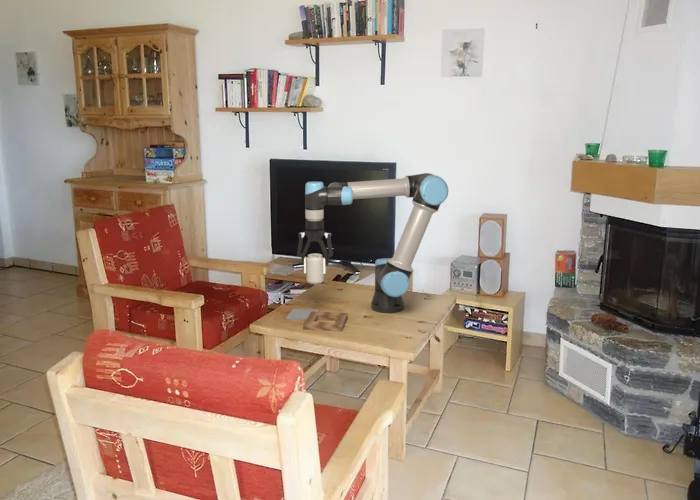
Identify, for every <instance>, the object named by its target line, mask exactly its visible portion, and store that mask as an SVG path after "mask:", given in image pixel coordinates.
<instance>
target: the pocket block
mask: <svg viewBox="0 0 700 500" xmlns="http://www.w3.org/2000/svg"><path fill="white" fill-rule="evenodd" d="M348 318H349V317H348V312H335V311H334V312H331V311H329V312H328V311H319V312H313V311H311V313H310V314H309V316H308V317H307V319H306V320H304V322H303V324H302V326H303V330H305V331H306V330H307V331H324V332H325V331H327V332H330V331H331V332H342V331H343V330H344V328H345V325H346V323H347V320H348Z"/></svg>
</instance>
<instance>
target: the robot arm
mask: <svg viewBox="0 0 700 500" xmlns="http://www.w3.org/2000/svg"><path fill="white" fill-rule="evenodd" d="M304 187H305V188H304V189H305V190H304V191H305V192H304V199H305V202H304V203H305V206H304V207H305V209H304V210H305V211H304V214H305V230H304V231H303V232H301V231H300V232H299V233H298V234H297V236H298V245H297V251H296V256H297V257H300V258H301V265H302V266H303V269H304V270H303V273H304V274H306V258H307V257H308V256H306V254H307V252H308V250H309V247H310V244H311V243H312V242H316V243H318V244H319V246H320V249H321V251H322V253H323V254H322V255H323V256H324V257H323V258H324V259H323V274H324V275H325V274H326V273H327V266H329V262H330V261H329V259H330V258H332V257H333V255H334V254H333V245H332V239H331V237H332V233H331V232H326V231H325V225H324V224H325V223H324V221H325V220H324V211H325V210H324V209H325V208H324V206H328V205H329V206H346V205H348V206H349V205H352V203H353V202H354V201H353V200H359V199H360V200H361V199H372V198H373V199H375V198H376V199H377V198H389V197H402V196H403V197H405V198H408V199H409V198H410V199H411V198H412V200H411V203H412V204H413V207H412V209H411V212H410V214H409V217H408V219H407V222H406V224H405V226H404V229H403V231H402V234H401V235H400V238H399V241H398V243H397V246H396V249H395V251H394V253H393V255H392V257H390V258H389V257H388V258H386V257H384V258H378V259H375V263H374V292H373V293H374V294H373V295H372V299H371V303H370V308H371V310H372V311H375V312H379V313H386V314H387V313H388V314H390V313H391V314H392V313H399V312H401V311H403V310H404V309H405V302H404V298H403V296H404V295H405V294H406V293H407V292H408V291H409V289H410V286H411V285H410V278H411V276H412V273H413V271H414V270H413V267H412V264H413V262H414V259H415V257H416V255H417V252H418V249H419V247H420V245H421V243H422V240H423V238H424V236H425V233H426V231H427V228H428V226H429V224H430V222H431V219H432V216H433V214H435V213H437V212H439V209H440V206H441V204H443V203H444V202H445V201H446V199H447V198H448V196H449V187H448V184H447V182H446V181H445V180H444V179H443V178H442V177H441V176H439V175H436V174H433V173H429V172H425V173H420V174H411V175H405V176H404V177H402V178H392V179H375V180H374V179H373V180H363V181H362V180H361V181H350V182H349V181H348V182H336V181H334V182H332V183H330V184H328V186H325V185H324V182H323V181H307V182H306V183H305V186H304ZM324 236H325V239H326V243H327V247H326V245H325V243H324V240H323V238H324ZM304 237H306V239H307V241H306V244H305V246H304V249H303V248H302V247H303V242H304V241H303V240H304ZM302 249H303V251H302ZM327 249H328V250H327Z"/></svg>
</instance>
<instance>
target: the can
mask: <svg viewBox="0 0 700 500" xmlns="http://www.w3.org/2000/svg"><path fill="white" fill-rule="evenodd" d="M306 257H307V258H306V273H305V274H306V282H307V283H308V284H310V285H320V284H322V283H324V281H325V274H323V259H324V257H323V254H321V253H310V254H309V253H308V254H307V256H306Z"/></svg>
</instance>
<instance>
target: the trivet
mask: <svg viewBox="0 0 700 500" xmlns="http://www.w3.org/2000/svg"><path fill="white" fill-rule="evenodd" d="M311 311H313V312H320V310H319V309H309V308H308V309H307V308H306V309H305V308H292V309H291V310H290V312H289V313H288V314H287V316H286V320H289V321H305V320H306V319H307V317H308V316H309V314H310V313H311Z"/></svg>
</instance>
